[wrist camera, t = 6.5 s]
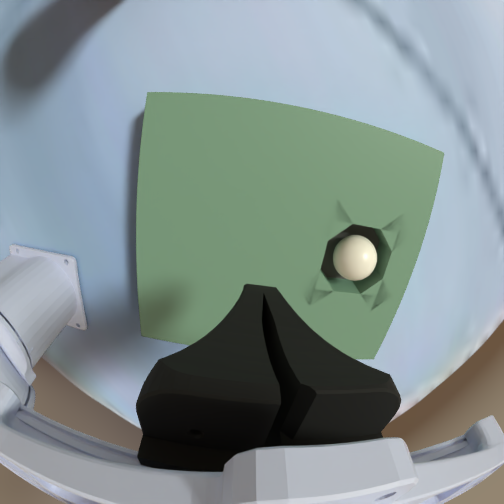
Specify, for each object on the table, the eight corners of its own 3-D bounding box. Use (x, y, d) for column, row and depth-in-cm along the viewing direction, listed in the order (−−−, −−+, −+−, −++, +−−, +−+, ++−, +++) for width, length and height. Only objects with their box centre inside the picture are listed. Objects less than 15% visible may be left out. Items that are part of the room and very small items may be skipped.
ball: (363, 271, 21) (325, 264, 21) (375, 233, 19) (335, 225, 20) (373, 292, 18) (331, 284, 18) (388, 250, 17) (344, 240, 17)
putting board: (150, 318, 23) (141, 335, 21) (160, 97, 16) (147, 92, 14) (365, 341, 24) (373, 359, 22) (425, 150, 17) (444, 153, 15)
